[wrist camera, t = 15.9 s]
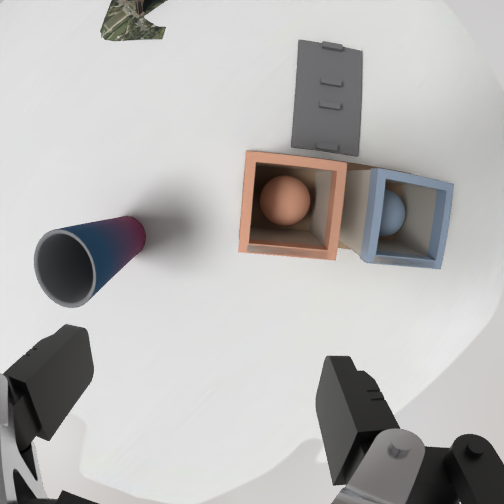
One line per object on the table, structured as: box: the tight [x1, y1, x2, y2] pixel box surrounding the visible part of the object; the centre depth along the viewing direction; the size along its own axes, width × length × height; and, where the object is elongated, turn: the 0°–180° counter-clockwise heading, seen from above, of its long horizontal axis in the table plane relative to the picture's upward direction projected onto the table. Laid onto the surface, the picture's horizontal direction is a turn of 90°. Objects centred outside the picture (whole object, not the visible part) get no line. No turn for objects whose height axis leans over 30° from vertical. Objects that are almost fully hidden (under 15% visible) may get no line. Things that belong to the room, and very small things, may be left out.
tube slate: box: [339, 168, 454, 269], centre depth 30 cm, size 8×8×10 cm
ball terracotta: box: [260, 175, 310, 226], centre depth 32 cm, size 5×5×5 cm
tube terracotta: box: [238, 151, 347, 260], centre depth 30 cm, size 8×8×10 cm
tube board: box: [239, 151, 410, 249], centre depth 35 cm, size 10×20×1 cm, turn 85°
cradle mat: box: [291, 40, 362, 156], centre depth 32 cm, size 14×8×1 cm, turn 175°
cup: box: [34, 216, 146, 308], centre depth 30 cm, size 7×7×15 cm
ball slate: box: [379, 189, 405, 236], centre depth 32 cm, size 5×5×5 cm
